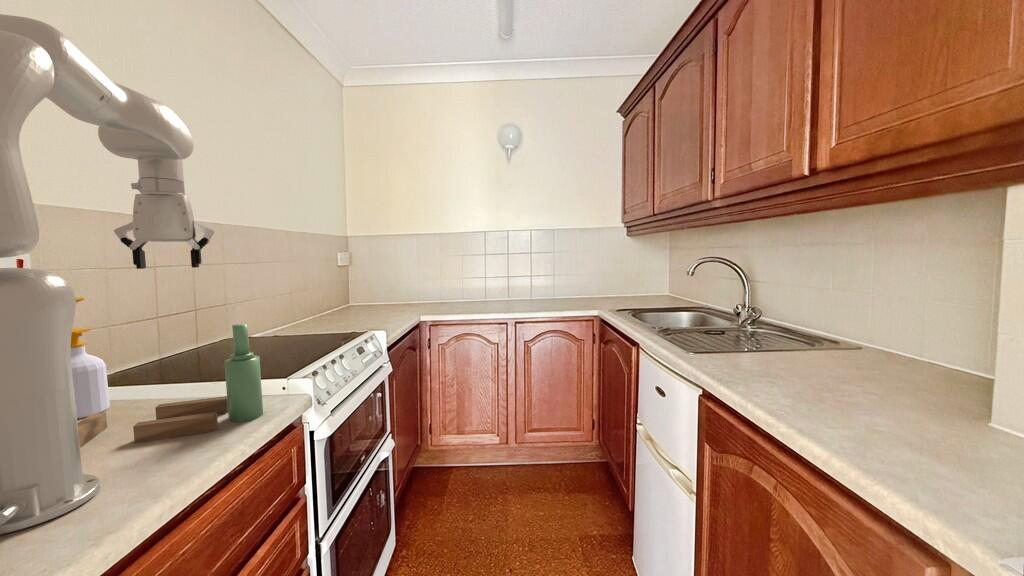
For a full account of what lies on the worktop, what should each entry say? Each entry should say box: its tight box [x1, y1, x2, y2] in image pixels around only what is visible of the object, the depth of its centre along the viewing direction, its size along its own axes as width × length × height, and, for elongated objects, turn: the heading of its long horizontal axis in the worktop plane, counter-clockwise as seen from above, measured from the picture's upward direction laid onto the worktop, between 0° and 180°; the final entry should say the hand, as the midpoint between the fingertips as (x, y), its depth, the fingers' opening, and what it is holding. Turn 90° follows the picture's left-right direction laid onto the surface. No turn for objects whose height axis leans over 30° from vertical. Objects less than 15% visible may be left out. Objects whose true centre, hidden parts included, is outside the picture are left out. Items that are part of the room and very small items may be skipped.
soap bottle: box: [71, 297, 111, 420], centre depth 88 cm, size 9×9×25 cm
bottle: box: [224, 323, 264, 423], centre depth 86 cm, size 6×6×19 cm
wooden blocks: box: [77, 395, 228, 449], centre depth 80 cm, size 12×22×3 cm, turn 113°
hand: (169, 268), depth 93 cm, fingers open, 9 cm apart
